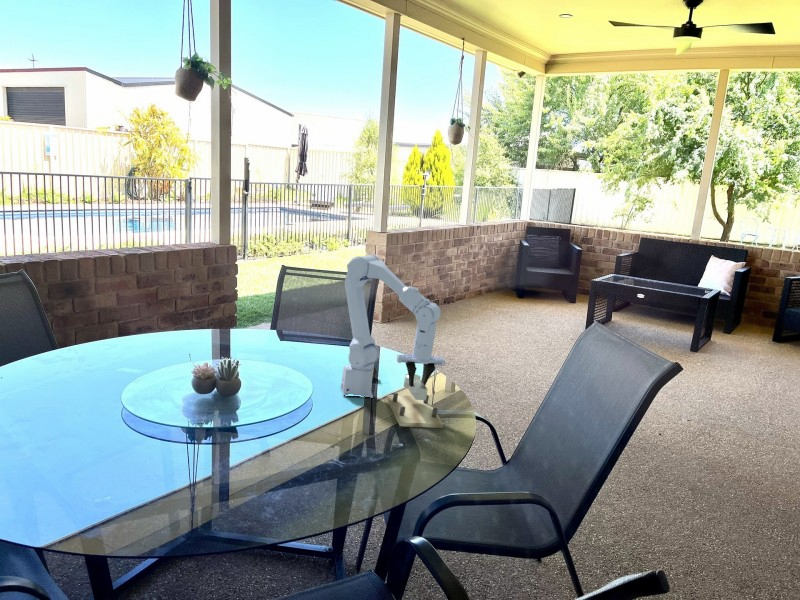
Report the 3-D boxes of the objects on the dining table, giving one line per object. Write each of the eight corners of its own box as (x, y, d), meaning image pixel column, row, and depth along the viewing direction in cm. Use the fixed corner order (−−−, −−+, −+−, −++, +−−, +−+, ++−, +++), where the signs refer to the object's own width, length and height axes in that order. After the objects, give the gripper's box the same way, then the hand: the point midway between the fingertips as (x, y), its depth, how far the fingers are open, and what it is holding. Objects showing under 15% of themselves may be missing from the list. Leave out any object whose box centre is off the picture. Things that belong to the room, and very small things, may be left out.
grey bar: (412, 399, 170) (414, 388, 170) (402, 383, 183) (403, 373, 183) (428, 400, 171) (430, 389, 171) (416, 384, 185) (418, 374, 184)
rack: (399, 426, 166) (401, 414, 165) (386, 398, 185) (388, 387, 184) (442, 427, 169) (445, 416, 168) (425, 400, 188) (427, 389, 187)
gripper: (403, 345, 168) (396, 389, 170) (450, 349, 171) (443, 392, 174) (398, 338, 174) (391, 380, 177) (443, 342, 178) (436, 383, 181)
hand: (416, 385), depth 176 cm, fingers closed on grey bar, 3 cm apart
